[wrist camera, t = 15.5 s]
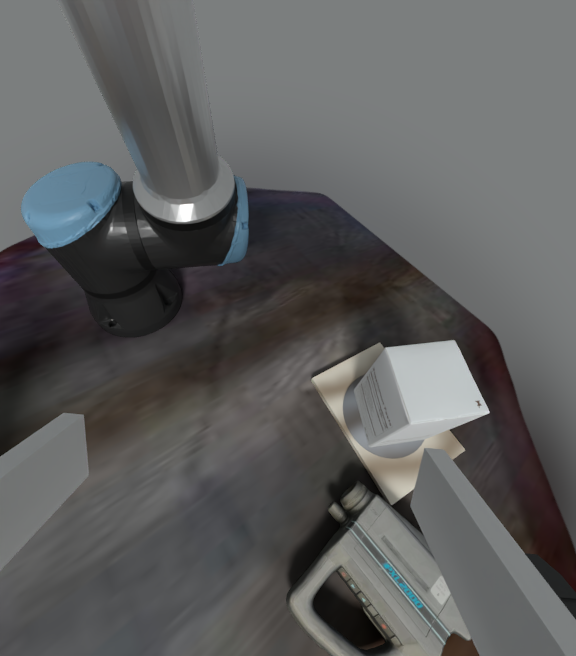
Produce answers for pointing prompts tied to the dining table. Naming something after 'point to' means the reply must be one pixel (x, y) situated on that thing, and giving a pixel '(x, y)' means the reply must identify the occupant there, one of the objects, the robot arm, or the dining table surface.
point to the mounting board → (381, 461)
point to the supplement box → (417, 393)
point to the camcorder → (379, 582)
